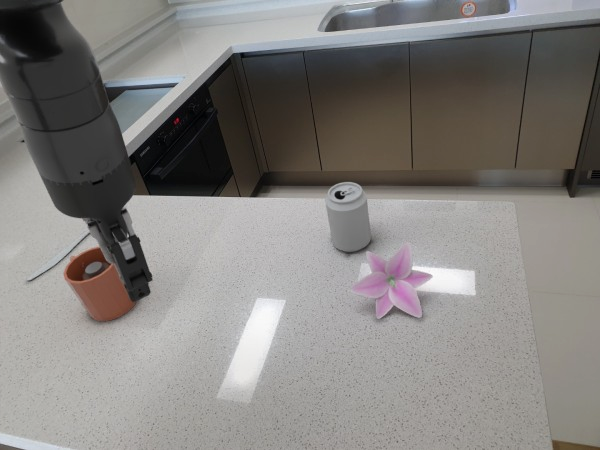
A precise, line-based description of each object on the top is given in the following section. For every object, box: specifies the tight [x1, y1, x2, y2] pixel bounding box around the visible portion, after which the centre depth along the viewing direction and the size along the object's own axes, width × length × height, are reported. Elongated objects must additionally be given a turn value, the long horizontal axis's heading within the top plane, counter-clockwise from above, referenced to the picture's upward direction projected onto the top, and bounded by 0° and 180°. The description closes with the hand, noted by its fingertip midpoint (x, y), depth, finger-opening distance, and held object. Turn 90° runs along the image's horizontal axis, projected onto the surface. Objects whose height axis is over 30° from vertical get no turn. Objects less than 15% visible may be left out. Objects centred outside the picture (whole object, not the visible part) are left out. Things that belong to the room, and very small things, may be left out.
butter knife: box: [26, 229, 90, 281], centre depth 105 cm, size 1×27×3 cm
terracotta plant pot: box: [63, 245, 137, 322], centre depth 85 cm, size 13×9×10 cm
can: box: [324, 181, 372, 253], centre depth 85 cm, size 8×8×12 cm
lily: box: [348, 241, 434, 320], centre depth 74 cm, size 12×12×10 cm
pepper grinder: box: [83, 262, 109, 280], centre depth 84 cm, size 5×5×8 cm
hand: (126, 271), depth 52 cm, fingers open, 8 cm apart
